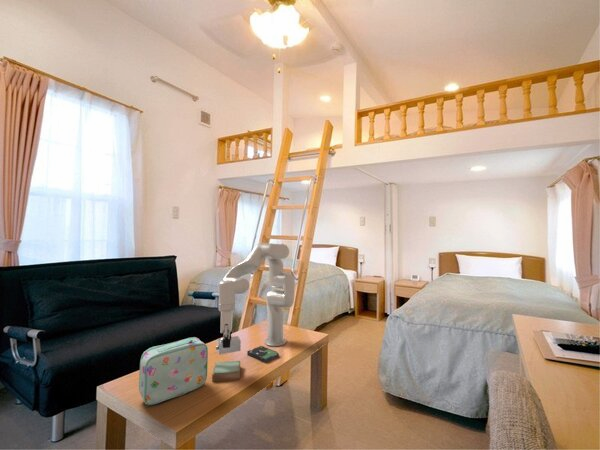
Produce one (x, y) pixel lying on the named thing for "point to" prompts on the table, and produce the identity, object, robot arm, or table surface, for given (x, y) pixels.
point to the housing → (234, 345)
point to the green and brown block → (226, 371)
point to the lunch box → (172, 370)
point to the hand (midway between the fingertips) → (227, 343)
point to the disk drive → (263, 354)
